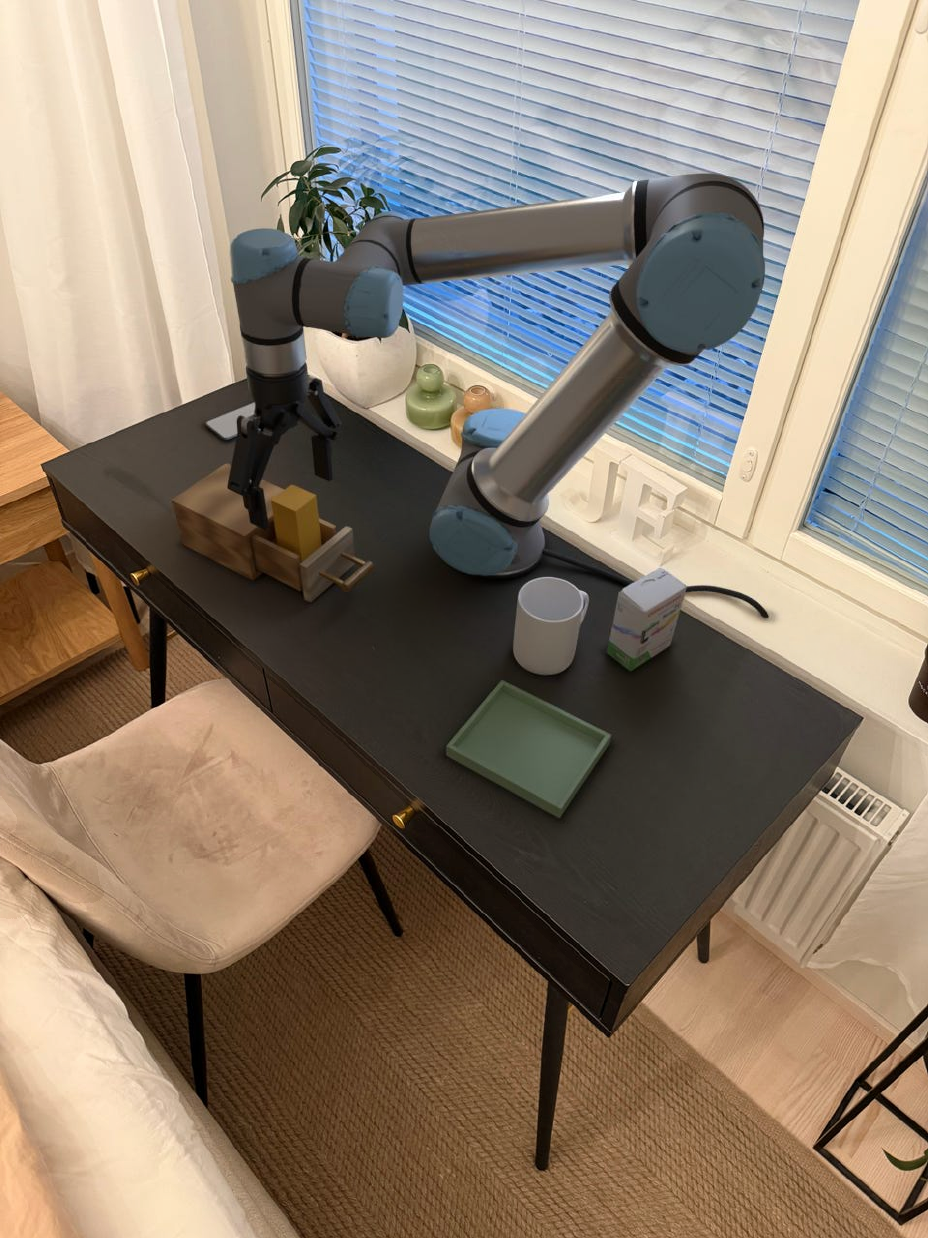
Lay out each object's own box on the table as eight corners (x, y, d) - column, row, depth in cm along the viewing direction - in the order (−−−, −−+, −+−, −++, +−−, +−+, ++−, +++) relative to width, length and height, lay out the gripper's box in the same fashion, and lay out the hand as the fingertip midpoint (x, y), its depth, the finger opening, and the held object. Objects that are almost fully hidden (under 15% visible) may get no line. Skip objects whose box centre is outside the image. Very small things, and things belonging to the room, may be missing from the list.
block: (323, 559, 134) (316, 495, 125) (303, 576, 131) (295, 511, 123) (300, 548, 136) (291, 484, 127) (280, 564, 133) (270, 499, 124)
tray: (609, 744, 114) (611, 734, 112) (559, 818, 106) (561, 809, 104) (500, 689, 120) (501, 679, 118) (445, 755, 112) (446, 745, 110)
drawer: (384, 577, 133) (382, 542, 128) (340, 618, 127) (337, 582, 122) (287, 530, 140) (282, 496, 135) (240, 566, 134) (234, 531, 129)
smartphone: (294, 409, 165) (224, 439, 158) (295, 412, 166) (225, 441, 158) (273, 394, 169) (203, 422, 161) (273, 396, 169) (204, 424, 162)
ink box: (630, 673, 122) (645, 612, 114) (604, 652, 125) (617, 590, 117) (672, 645, 126) (689, 584, 118) (646, 625, 129) (661, 564, 121)
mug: (604, 648, 125) (615, 593, 118) (540, 687, 120) (548, 631, 112) (563, 614, 130) (571, 558, 123) (499, 649, 125) (504, 593, 117)
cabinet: (303, 539, 140) (298, 495, 134) (253, 580, 133) (244, 536, 127) (234, 506, 146) (226, 462, 139) (182, 544, 138) (171, 499, 132)
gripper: (317, 316, 119) (328, 450, 134) (179, 396, 104) (209, 536, 119) (362, 333, 117) (368, 467, 132) (227, 417, 101) (251, 558, 116)
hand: (292, 500), depth 125 cm, fingers open, 13 cm apart
